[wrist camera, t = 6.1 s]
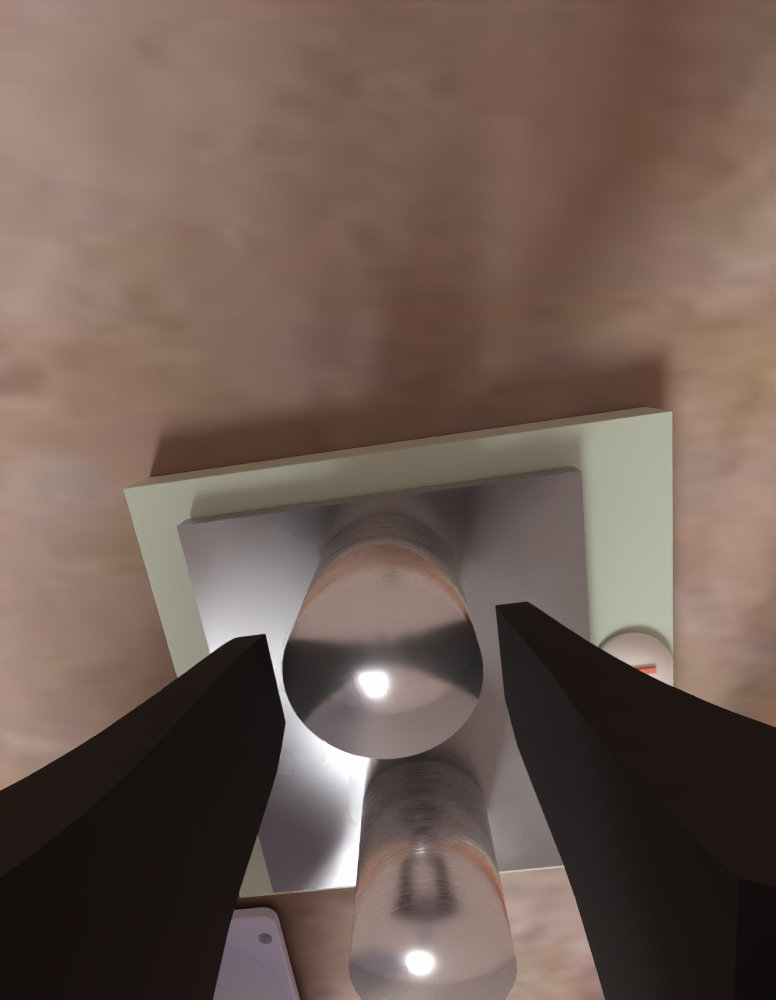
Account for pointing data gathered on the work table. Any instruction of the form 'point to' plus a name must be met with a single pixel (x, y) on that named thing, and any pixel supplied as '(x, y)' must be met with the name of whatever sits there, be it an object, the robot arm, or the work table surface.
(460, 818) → the cylinder
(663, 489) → the scale
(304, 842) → the scale platform
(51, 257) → the work table surface
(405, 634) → the cylinder
